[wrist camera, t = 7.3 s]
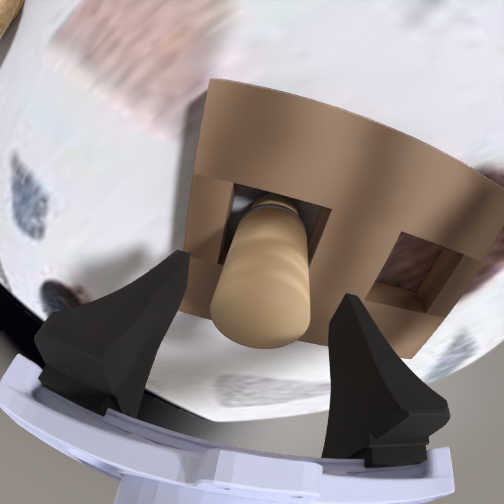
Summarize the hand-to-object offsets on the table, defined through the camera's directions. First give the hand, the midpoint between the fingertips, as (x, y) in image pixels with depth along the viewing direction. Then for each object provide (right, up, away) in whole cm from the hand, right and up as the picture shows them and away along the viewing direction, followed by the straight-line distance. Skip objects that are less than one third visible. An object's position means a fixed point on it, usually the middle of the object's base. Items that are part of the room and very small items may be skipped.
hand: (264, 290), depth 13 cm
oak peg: (+1, +4, +6) cm, 7 cm away
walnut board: (+6, +3, +6) cm, 9 cm away
